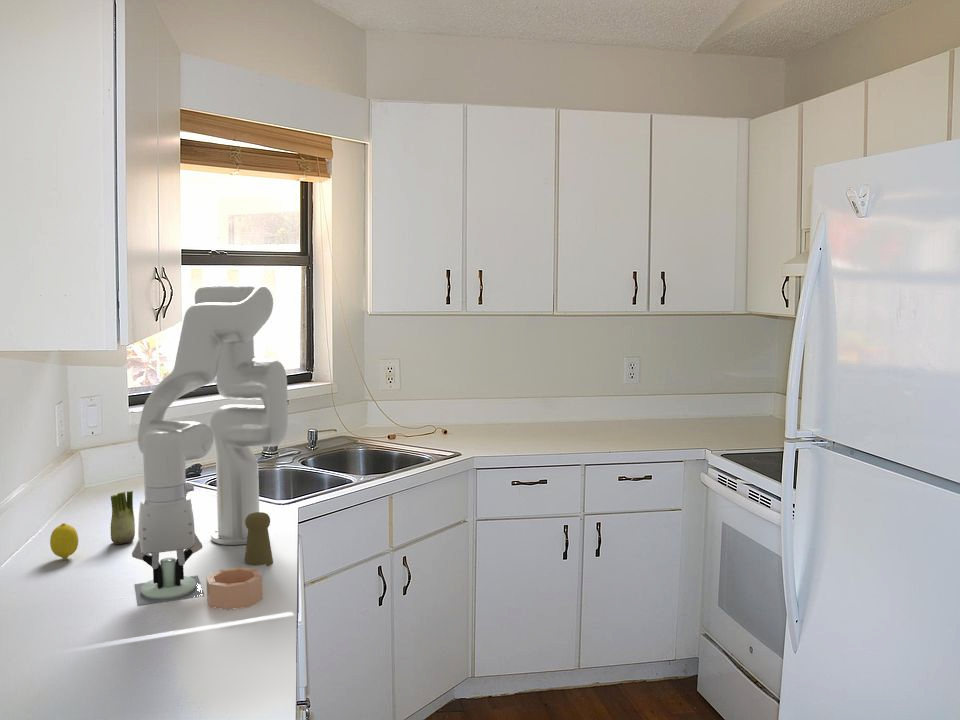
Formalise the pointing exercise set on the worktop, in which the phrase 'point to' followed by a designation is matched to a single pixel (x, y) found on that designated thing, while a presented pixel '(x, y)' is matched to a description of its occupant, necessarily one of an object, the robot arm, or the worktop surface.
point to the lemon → (64, 541)
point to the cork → (258, 540)
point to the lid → (168, 583)
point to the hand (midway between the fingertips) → (168, 583)
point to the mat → (145, 601)
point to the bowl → (234, 588)
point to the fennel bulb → (122, 518)
